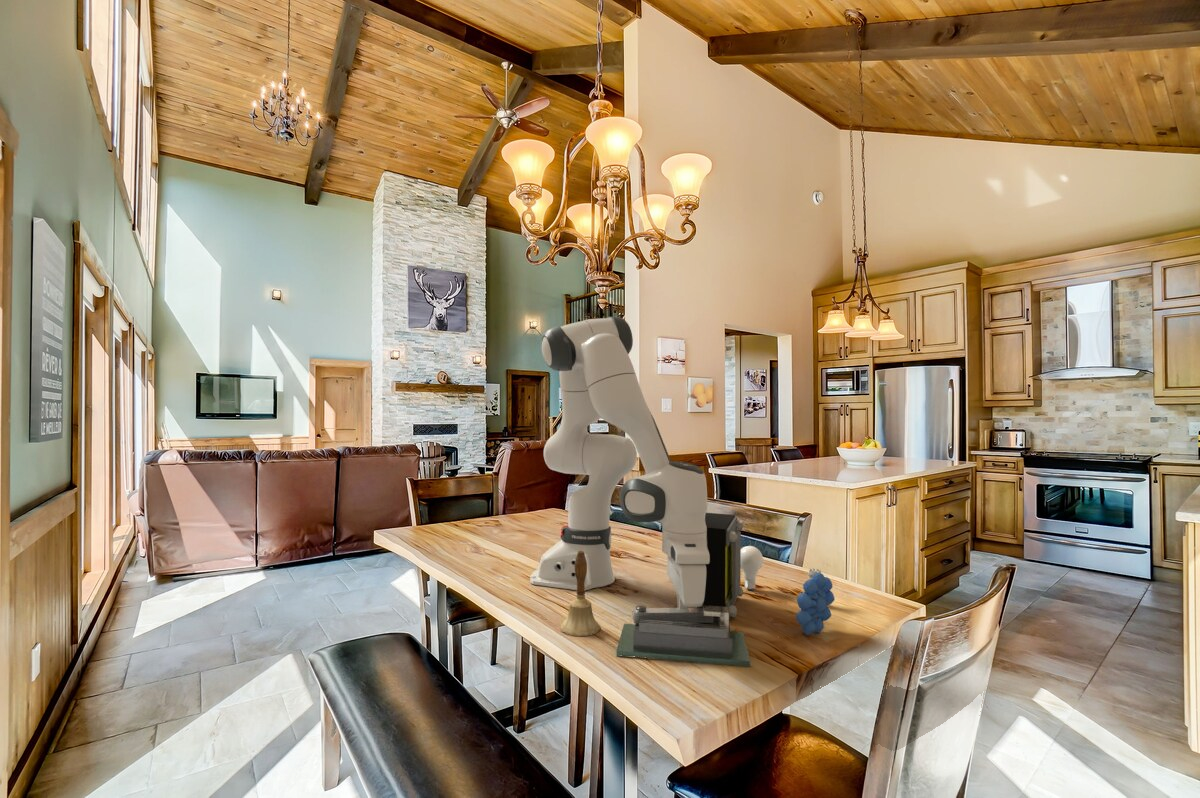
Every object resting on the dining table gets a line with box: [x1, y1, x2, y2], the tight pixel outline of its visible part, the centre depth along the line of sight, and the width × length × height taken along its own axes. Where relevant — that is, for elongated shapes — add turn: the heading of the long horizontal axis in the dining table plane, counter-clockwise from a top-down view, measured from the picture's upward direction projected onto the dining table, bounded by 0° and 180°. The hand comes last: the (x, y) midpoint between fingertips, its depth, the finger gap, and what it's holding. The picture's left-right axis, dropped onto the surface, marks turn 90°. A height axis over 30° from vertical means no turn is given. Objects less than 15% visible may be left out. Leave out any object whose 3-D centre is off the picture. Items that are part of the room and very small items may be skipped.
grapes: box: [795, 573, 835, 636], centre depth 113 cm, size 12×7×12 cm, turn 127°
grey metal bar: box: [632, 605, 713, 624], centre depth 106 cm, size 16×2×3 cm, turn 93°
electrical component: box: [696, 512, 744, 618], centre depth 127 cm, size 18×10×20 cm, turn 160°
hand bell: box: [559, 551, 601, 637], centre depth 113 cm, size 8×8×16 cm
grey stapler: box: [615, 605, 751, 668], centre depth 105 cm, size 24×13×8 cm, turn 81°
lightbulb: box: [741, 545, 764, 591], centre depth 139 cm, size 6×6×11 cm
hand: (682, 612), depth 109 cm, fingers closed
